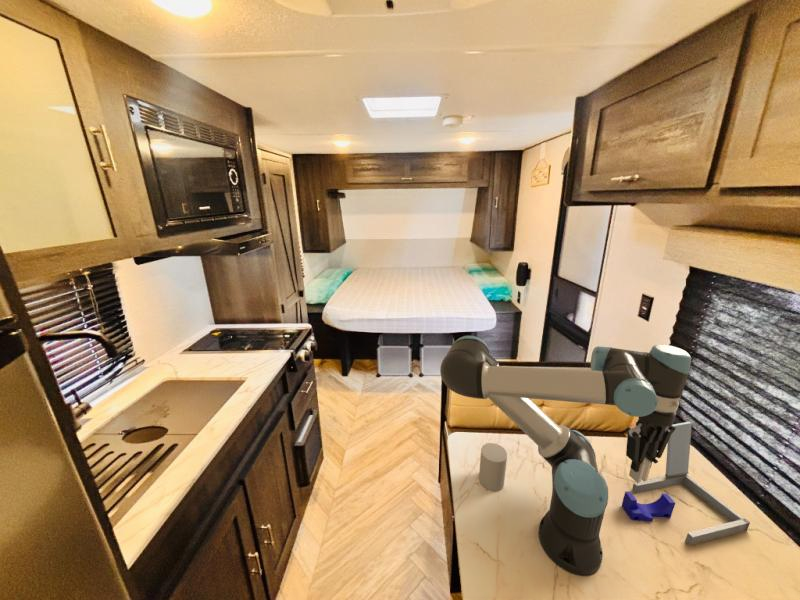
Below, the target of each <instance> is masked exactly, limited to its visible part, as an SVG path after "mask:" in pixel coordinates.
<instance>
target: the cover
mask: <svg viewBox="0 0 800 600" xmlns="http://www.w3.org/2000/svg"><path fill="white" fill-rule="evenodd" d="M692 424H693V423H692V422H691V421H685V422H679V423H673V426H674V427H676V429H675V431H674V432H673V433H672V434H671V436H670V439H669V441H668V443H667V445H666V447H667V448H666V451H667V452H666V462H665V463H666V464H665V475H664V476H666V477H667V478H670V477H675V476H680V475H684V474H687V475H689V464H690V449H691V440H692V439H691V437H692V426H693V425H692Z"/></svg>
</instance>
